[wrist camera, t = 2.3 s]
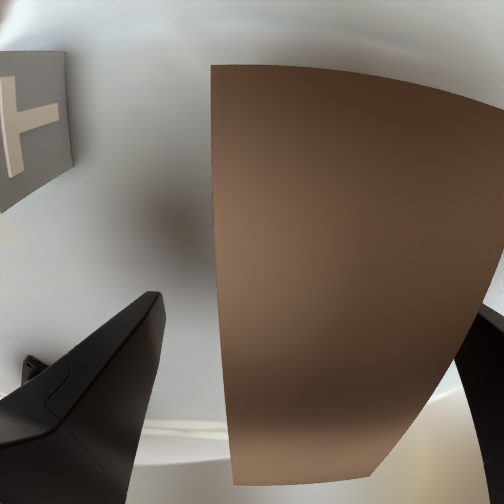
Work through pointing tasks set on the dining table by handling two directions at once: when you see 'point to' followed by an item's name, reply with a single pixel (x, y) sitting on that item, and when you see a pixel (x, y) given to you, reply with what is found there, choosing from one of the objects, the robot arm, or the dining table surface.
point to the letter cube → (32, 123)
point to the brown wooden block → (344, 259)
